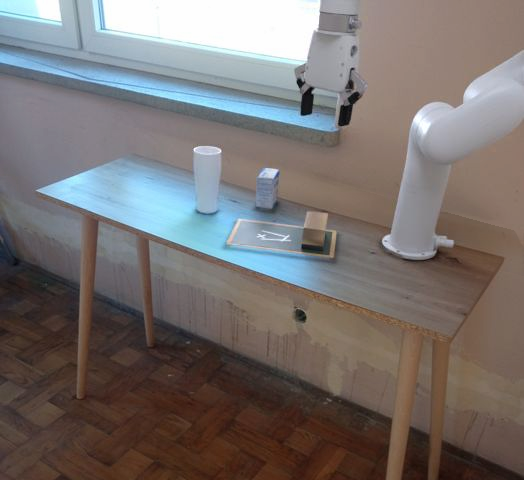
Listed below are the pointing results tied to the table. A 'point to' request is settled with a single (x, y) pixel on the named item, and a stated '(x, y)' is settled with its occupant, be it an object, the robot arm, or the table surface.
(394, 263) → the table surface
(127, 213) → the table surface
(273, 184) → the medicine box
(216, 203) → the drinking glass
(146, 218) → the table surface
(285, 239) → the slate
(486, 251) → the table surface
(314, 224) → the eraser
